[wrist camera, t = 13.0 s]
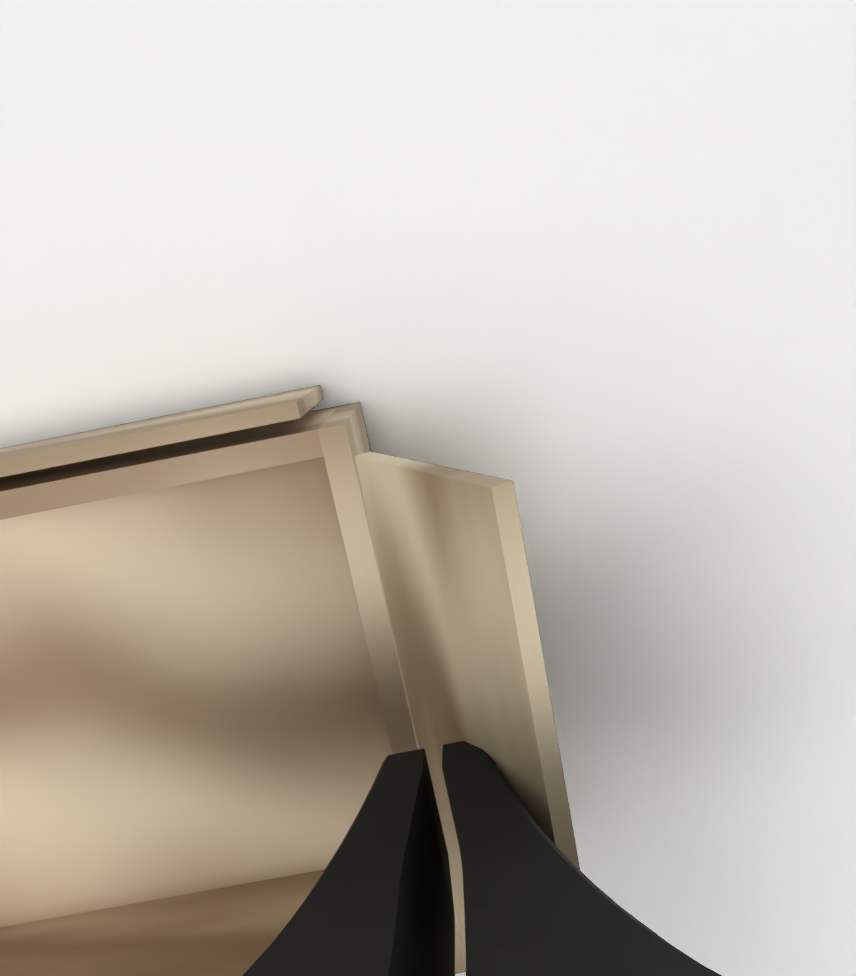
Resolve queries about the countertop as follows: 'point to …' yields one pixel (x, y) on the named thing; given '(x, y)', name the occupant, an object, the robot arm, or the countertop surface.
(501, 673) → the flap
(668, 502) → the countertop surface
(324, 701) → the carton
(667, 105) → the countertop surface
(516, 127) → the countertop surface
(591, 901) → the robot arm
